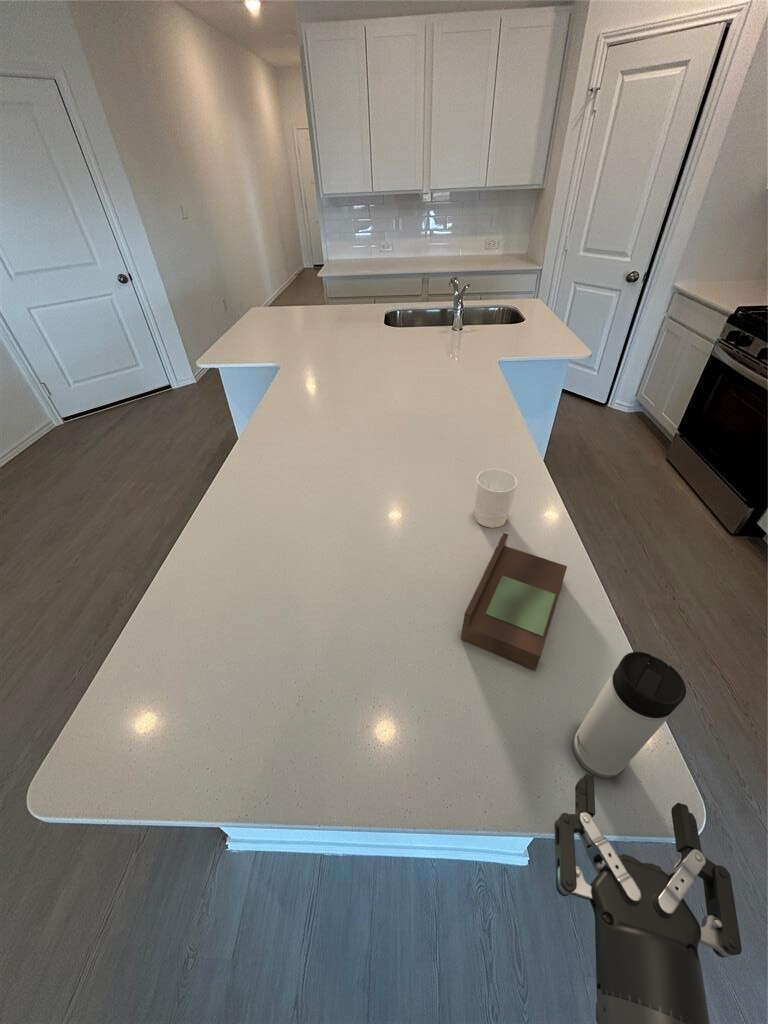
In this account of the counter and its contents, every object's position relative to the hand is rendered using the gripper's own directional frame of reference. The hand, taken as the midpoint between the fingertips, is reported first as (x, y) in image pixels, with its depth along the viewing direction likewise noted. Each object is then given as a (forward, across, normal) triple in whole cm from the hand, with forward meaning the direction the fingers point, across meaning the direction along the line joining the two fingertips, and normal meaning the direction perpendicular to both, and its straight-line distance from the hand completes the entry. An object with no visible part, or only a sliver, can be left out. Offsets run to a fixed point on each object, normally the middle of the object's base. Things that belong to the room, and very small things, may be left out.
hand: (631, 791), depth 45 cm
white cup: (+51, +20, +11) cm, 56 cm away
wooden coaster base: (+29, +13, +11) cm, 33 cm away
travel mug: (+8, 0, +11) cm, 14 cm away
